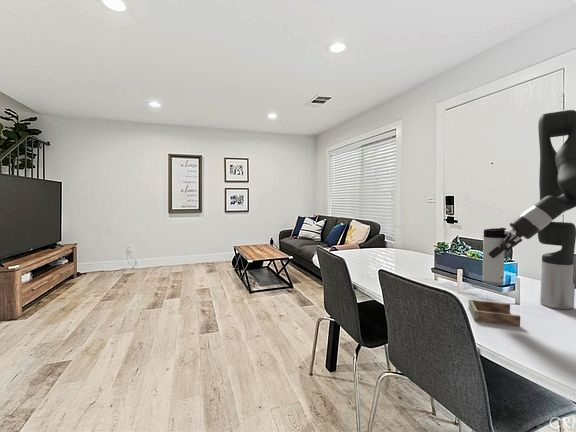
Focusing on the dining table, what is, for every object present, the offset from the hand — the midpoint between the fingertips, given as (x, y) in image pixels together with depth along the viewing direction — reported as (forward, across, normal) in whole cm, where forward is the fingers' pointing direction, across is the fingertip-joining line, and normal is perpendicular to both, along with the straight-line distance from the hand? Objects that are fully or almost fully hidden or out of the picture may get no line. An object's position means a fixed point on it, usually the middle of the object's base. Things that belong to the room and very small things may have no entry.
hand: (488, 254), depth 106 cm
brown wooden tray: (+15, 0, +17) cm, 23 cm away
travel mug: (+6, 0, +9) cm, 11 cm away
